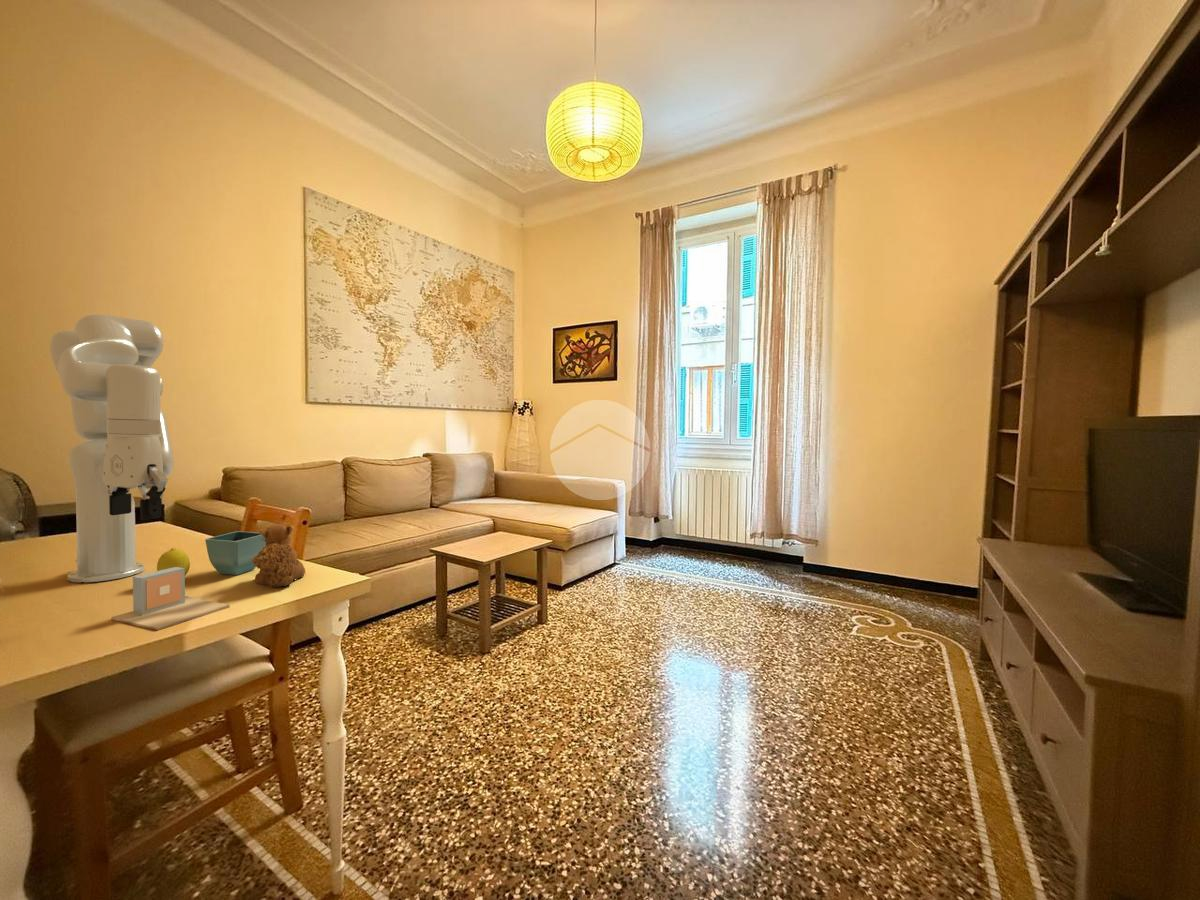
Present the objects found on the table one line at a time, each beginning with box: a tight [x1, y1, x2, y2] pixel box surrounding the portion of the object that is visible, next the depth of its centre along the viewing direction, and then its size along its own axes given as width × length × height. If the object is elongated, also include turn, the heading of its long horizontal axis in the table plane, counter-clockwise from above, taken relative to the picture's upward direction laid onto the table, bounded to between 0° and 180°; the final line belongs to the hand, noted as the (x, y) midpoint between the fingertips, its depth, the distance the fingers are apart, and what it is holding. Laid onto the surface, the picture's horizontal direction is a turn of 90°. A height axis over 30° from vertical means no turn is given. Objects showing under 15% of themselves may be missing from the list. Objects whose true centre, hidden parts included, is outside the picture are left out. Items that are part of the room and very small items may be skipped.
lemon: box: [156, 547, 191, 576], centre depth 108 cm, size 6×6×8 cm
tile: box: [132, 567, 186, 615], centre depth 92 cm, size 3×7×7 cm, turn 162°
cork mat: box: [111, 595, 230, 631], centre depth 91 cm, size 13×12×1 cm
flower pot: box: [205, 530, 266, 576], centre depth 117 cm, size 9×9×9 cm
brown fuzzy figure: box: [252, 523, 306, 588], centre depth 110 cm, size 10×14×13 cm
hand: (135, 516), depth 94 cm, fingers open, 8 cm apart
